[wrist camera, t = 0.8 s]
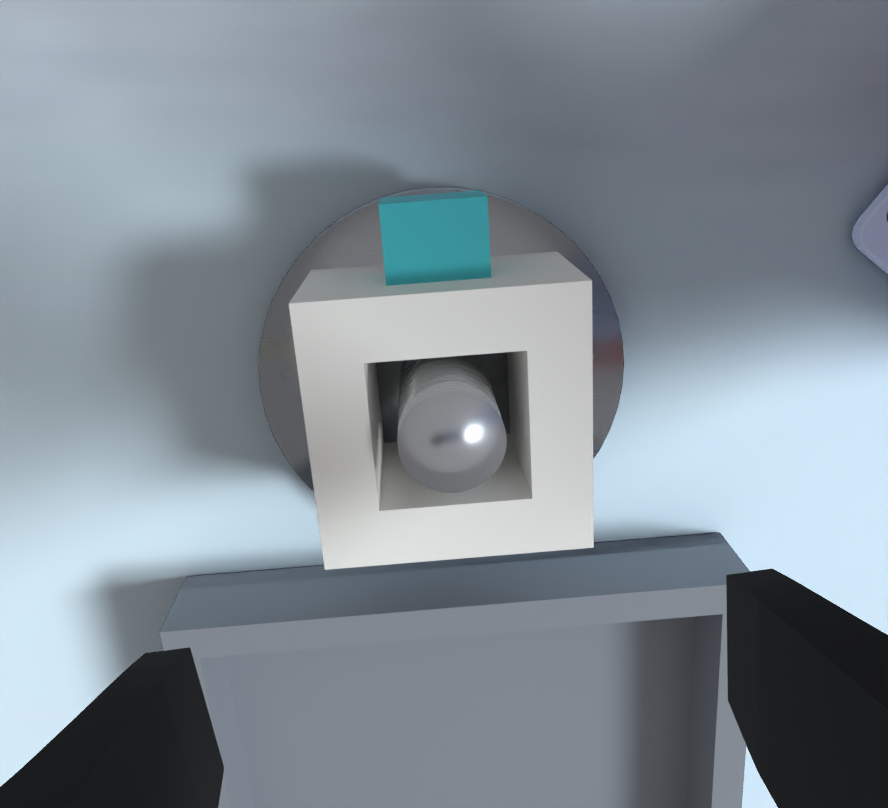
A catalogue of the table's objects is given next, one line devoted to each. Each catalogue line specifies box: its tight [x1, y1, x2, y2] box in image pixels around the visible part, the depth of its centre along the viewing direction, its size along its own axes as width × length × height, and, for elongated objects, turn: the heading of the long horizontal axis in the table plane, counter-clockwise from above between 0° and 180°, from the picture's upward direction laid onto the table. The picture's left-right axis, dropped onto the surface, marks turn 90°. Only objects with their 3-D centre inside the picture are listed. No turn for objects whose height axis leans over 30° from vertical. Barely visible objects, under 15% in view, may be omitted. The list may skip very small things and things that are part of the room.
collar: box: [289, 190, 594, 570], centre depth 16 cm, size 5×7×4 cm
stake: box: [259, 187, 624, 493], centre depth 17 cm, size 8×8×5 cm
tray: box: [159, 533, 750, 808], centre depth 22 cm, size 14×12×2 cm
